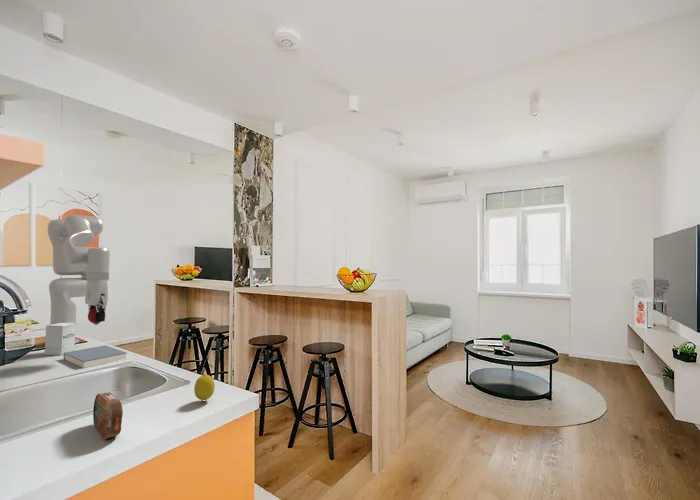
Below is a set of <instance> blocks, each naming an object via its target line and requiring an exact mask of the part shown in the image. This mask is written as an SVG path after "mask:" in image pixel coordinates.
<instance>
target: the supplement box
mask: <svg viewBox="0 0 700 500" xmlns="http://www.w3.org/2000/svg"><path fill="white" fill-rule="evenodd" d="M76 323H77V322H76ZM76 323H57V324H52V325H50V324H48V325H46V326H45V337H46V338H45V340H44V341H45V344H44V355H45V356H61V355H64V353H65V352H70V351H75V346H76V345H75V344H76V343H75V338H76V330H75V324H76Z"/></svg>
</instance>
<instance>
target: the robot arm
mask: <svg viewBox="0 0 700 500" xmlns="http://www.w3.org/2000/svg"><path fill="white" fill-rule="evenodd" d="M103 229H104V225H103V221H102V219H101V218H99V217H97V216H91V215H81V214H71V215H69V216H66V217H65V218H62V219H61V218H60V219H52V220H50V221H48V224H47V234H48V235H47V236H48V238H49V241H50V242H51V245H52V269H53V273H54V274H56V275H57V276H81V277H61V278H55V279H53V280H51V281H50V283H49V285H48V290H49V291H48V292H49V297H50V320H49V321H50V322H49V323H50V324H49V325H52V324H57V323H77V306H76V303H75V302H74V301H73V300H72V299H71V298H81V297H84V303H85V304H86V305H88V313H89V312H90V311H91V310H92V309H93V308H95V307H96V311H97V312H95V322H100V323H102V322H105V320H106V307H107V305H108V300H109V299H108V298H109V297H108V296H109V294H108V293H109V291H108V290H109V289H108V288H109V287H108V285H109V284H108V282H109V281H110V280H109V279H110V252H111V251H110V249H109V248H107V247H94V246H93V247H92V246H87V245H89V244H91V243H92V242H93V241H94V239H95V236H96V237H97V236H98V235H100V234H101V233H102V232H103ZM87 320H88V321H89V319H88V318H87ZM76 328H77V327H76V324H75V331H76ZM44 338H45V339H46V336H45V337H44ZM79 342H80V339H79V338H76V337H75V344H78V343H79Z"/></svg>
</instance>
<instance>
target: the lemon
mask: <svg viewBox="0 0 700 500" xmlns="http://www.w3.org/2000/svg"><path fill="white" fill-rule="evenodd" d="M215 385H216V384H215V380H214V379H213V377H212V376H210V375H209V374H206V373H204V374H203V375H201V376H199V377H198V378H197V379H196V381H195V384H194V395H195V397H196V398H197V399H198V400H200V401H202V400H206V401H207V400H208V399H210V398H212V396H213V394H214V392H215V388H216V386H215Z"/></svg>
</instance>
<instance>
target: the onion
mask: <svg viewBox="0 0 700 500" xmlns="http://www.w3.org/2000/svg"><path fill="white" fill-rule="evenodd" d="M95 312H97V311H96V307H95V308H93V309H92V310H91V311H90V312H89V311H88V313H87V320H88V319H89V320H88V321H89V322H90V323H92V324H93V325H95V326H97V325H99V324H100V323H101V322H95Z"/></svg>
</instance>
